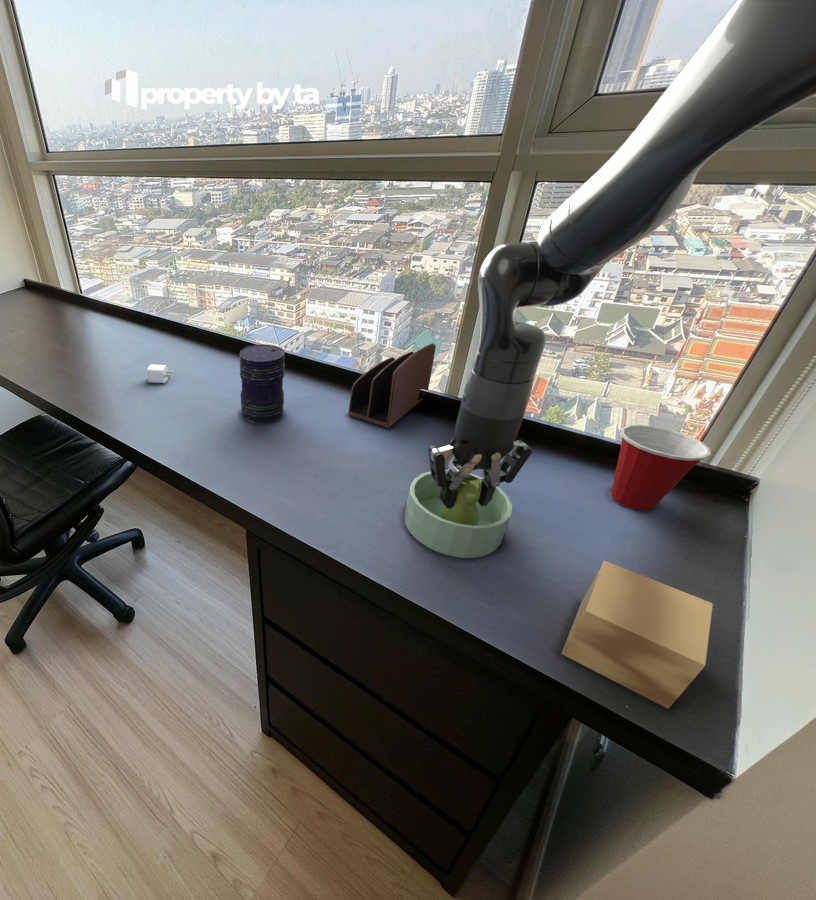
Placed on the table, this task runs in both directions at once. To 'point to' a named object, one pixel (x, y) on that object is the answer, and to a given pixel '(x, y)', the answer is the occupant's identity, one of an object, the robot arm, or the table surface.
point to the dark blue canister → (262, 383)
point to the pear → (465, 503)
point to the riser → (641, 633)
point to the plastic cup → (653, 464)
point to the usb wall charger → (158, 373)
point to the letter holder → (392, 387)
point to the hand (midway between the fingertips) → (464, 503)
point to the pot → (450, 535)
